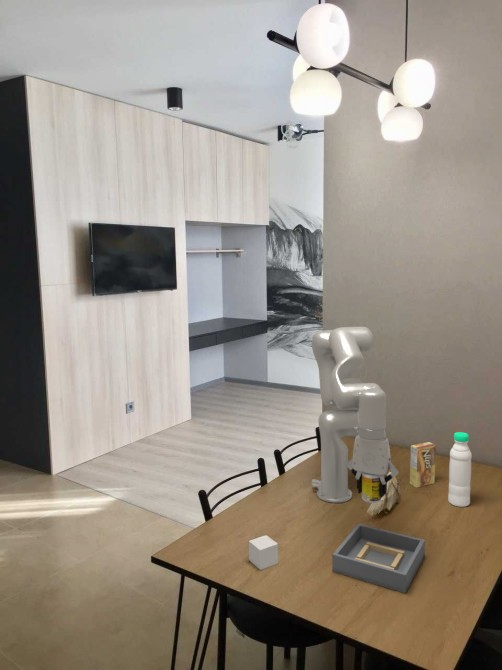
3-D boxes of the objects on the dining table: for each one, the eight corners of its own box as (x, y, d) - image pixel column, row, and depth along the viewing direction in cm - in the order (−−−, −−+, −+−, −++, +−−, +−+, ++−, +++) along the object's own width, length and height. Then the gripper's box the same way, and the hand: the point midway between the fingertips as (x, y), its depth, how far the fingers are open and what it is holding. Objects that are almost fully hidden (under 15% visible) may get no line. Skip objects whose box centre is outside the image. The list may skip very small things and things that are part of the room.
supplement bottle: (371, 505, 154) (372, 470, 153) (357, 498, 159) (357, 464, 157) (385, 500, 157) (386, 466, 156) (371, 494, 162) (371, 460, 160)
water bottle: (444, 499, 193) (446, 430, 190) (463, 497, 194) (466, 429, 190) (453, 508, 187) (456, 437, 183) (473, 506, 187) (476, 436, 183)
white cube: (249, 560, 157) (248, 540, 156) (266, 554, 160) (266, 534, 160) (260, 570, 152) (260, 550, 151) (278, 563, 155) (277, 543, 154)
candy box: (427, 479, 210) (428, 441, 208) (435, 483, 206) (436, 444, 204) (409, 484, 206) (410, 445, 204) (417, 488, 203) (418, 448, 200)
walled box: (332, 571, 151) (332, 554, 150) (357, 538, 168) (358, 523, 167) (405, 593, 141) (405, 575, 140) (424, 556, 157) (424, 539, 157)
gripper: (338, 432, 156) (338, 492, 159) (398, 440, 148) (397, 504, 150) (348, 425, 163) (348, 483, 165) (406, 433, 154) (405, 494, 156)
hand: (371, 493), depth 157 cm, fingers closed on supplement bottle, 5 cm apart
